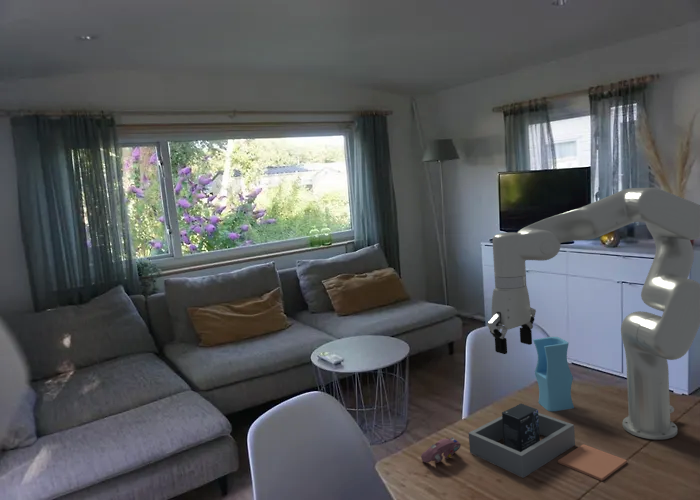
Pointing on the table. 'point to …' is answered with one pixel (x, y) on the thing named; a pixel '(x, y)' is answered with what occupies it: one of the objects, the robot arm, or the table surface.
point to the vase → (553, 374)
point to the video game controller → (441, 450)
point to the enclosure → (529, 459)
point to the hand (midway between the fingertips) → (514, 348)
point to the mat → (592, 462)
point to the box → (520, 427)
